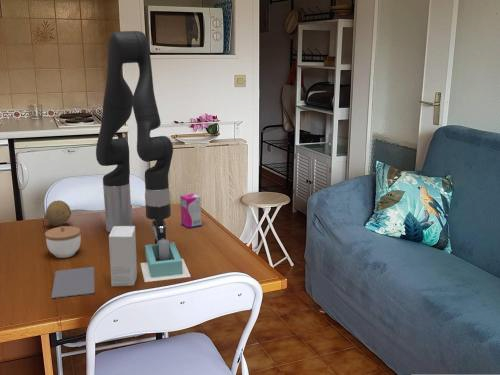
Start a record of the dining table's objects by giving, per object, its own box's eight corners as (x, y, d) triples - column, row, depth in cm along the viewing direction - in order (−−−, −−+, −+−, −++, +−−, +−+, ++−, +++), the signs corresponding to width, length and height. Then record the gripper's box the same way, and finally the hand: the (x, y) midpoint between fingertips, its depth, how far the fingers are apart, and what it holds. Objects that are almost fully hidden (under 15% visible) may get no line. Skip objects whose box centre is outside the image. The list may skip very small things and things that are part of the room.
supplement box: (194, 222, 201) (194, 192, 198) (201, 226, 196) (201, 196, 194) (180, 224, 198) (179, 195, 195) (187, 229, 194) (186, 198, 191)
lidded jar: (89, 250, 173) (87, 223, 171) (68, 262, 163) (65, 234, 161) (61, 246, 176) (59, 219, 174) (39, 258, 167) (36, 230, 164)
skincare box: (115, 276, 153) (112, 225, 149) (139, 275, 154) (136, 225, 150) (111, 289, 145) (107, 235, 141) (135, 288, 146) (132, 235, 142)
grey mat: (55, 272, 156) (55, 270, 156) (97, 267, 159) (97, 266, 159) (51, 299, 140) (51, 297, 139) (98, 293, 143) (98, 291, 143)
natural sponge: (77, 226, 196) (75, 200, 194) (55, 232, 190) (52, 205, 187) (64, 221, 202) (62, 196, 199) (42, 227, 196) (39, 201, 193)
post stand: (140, 265, 161) (138, 235, 158) (183, 260, 164) (182, 231, 162) (144, 284, 148) (143, 251, 145) (190, 279, 151) (189, 247, 149)
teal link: (145, 256, 166) (145, 244, 164) (174, 253, 168) (173, 242, 167) (151, 277, 151) (150, 264, 150) (182, 273, 153) (182, 261, 152)
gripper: (143, 197, 167) (146, 245, 171) (147, 209, 154) (150, 261, 158) (167, 195, 169) (169, 243, 173) (173, 207, 156) (175, 258, 160)
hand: (160, 251), depth 165 cm, fingers open, 8 cm apart
